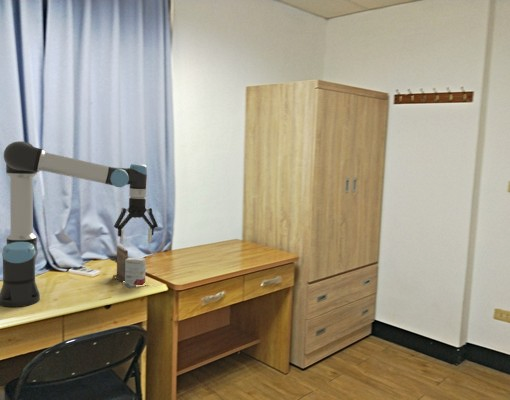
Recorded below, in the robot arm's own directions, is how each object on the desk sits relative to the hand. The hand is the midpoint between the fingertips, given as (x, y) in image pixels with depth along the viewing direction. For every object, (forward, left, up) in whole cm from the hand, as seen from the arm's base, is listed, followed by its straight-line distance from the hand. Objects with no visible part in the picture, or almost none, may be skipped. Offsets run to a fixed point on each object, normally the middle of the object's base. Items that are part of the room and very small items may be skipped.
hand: (135, 242), depth 218 cm
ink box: (0, 0, -20) cm, 20 cm away
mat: (0, 0, -20) cm, 20 cm away
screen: (-3, +12, -20) cm, 23 cm away
